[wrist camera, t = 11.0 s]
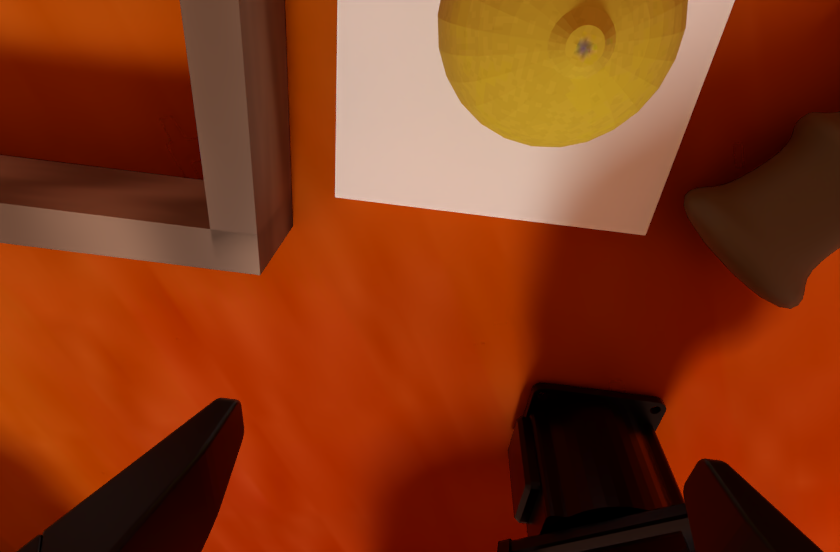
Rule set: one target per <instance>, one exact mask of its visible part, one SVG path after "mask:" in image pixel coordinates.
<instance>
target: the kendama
mask: <svg viewBox="0 0 840 552" xmlns="http://www.w3.org/2000/svg"><path fill="white" fill-rule="evenodd" d="M684 208H685V211H686V214H687V217H688V219H689V220H690V222H691V223H692V225H693V226H694V228H695V229H696V231H697V232H698V234H699V235H700V237H701V238H702V240H703V241H704V242H705V244H706V245H707V246H708V247H709V248H710V249H711V250H712V251H713V253H714V254H715V255H716V256H717V257H718V258H719V259H720V260H721V261H722V262H723V264H724V265H725V266H726V267H727V268H728V269H729V270H730V271H731V272H732V273H733V274H734V275H735V276H736V277H737V278H738V279H739V280H741V281H742V282H743V283H744V284H745V285H746V286H747V287H748V288H750V289H751V290H752V291H754V292H755V293H756V294H757V295H759V296H760V297H761V298H763V299H765V300H767V301H769V302H771V303H773V304H775V305H777V306H778V307H783V308H789V309H791V308H793V307H795V306H797V305H799V303H800V302H801V300H802V299H803V295H804V291H805V285H806V281H807V278H808V277H809V275H810V273H811V272H812V270H813V269H814V268H815V267H816V266H817V265H818V264H819V263H820V262H821V261H823V260H824V259H825V258H826V257H828V256H829V255H830V254H832V253H833V252H834V251H835V250H837V249H838V248H840V112H835V113H819V112H812V113H808V114H807V115H805V116H804V117H802V118H801V119H799V120H798V122H797V123H796V125H795V127H794V130H793V134H792V136H791V138H790V140H789V142H788V143H787V145H786V146H785V147H784V148H783V149H782V150H781V151H780V152H779V153H777V154H776V155H775V156H773V157H772V158H771V159H770V160H768V161H767V162H765V163H764V164H762V165H761V166H759V167H758V168H756V169H755V170H753V171H751V172H749V173H747V174H746V175H744V176H742V177H740V178H738V179H736V180H734V181H732V182H730V183H727V184H724V185H721V186H716V187H701V188H696V189H693V190H690V191H689V192H688V193H687V194H686V195H685V199H684Z"/></svg>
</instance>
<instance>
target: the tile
mask: <svg viewBox="0 0 840 552" xmlns="http://www.w3.org/2000/svg"><path fill="white" fill-rule="evenodd" d="M440 1H441V0H338V5H337V84H336V162H335V197H338V198H346V199H354V200H362V201H370V202H378V203H386V204H394V205H402V206H411V207H419V208H427V209H435V210H443V211H451V212H459V213H467V214H475V215H483V216H492V217H500V218H508V219H516V220H524V221H532V222H540V223H548V224H556V225H564V226H573V227H581V228H589V229H597V230H605V231H613V232H621V233H629V234H637V235H646V233H647V230H648V227H649V225H650V222H651V220H652V217H653V214H654V212H655V209H656V206H657V204H658V201H659V199H660V196H661V193H662V191H663V188H664V185H665V183H666V180H667V178H668V175H669V172H670V170H671V167H672V164H673V162H674V159H675V157H676V154H677V151H678V149H679V146H680V143H681V141H682V138H683V136H684V133H685V130H686V128H687V125H688V122H689V120H690V117H691V115H692V112H693V109H694V107H695V104H696V101H697V99H698V96H699V94H700V91H701V88H702V86H703V83H704V80H705V78H706V75H707V73H708V70H709V67H710V65H711V62H712V59H713V57H714V54H715V52H716V49H717V46H718V44H719V41H720V38H721V36H722V33H723V30H724V28H725V25H726V23H727V20H728V17H729V15H730V12H731V9H732V7H733V4H734V2H735V0H688V8H687V19H686V29H685V32H684V35H683V38H682V41H681V44H680V47H679V50H678V53H677V56H676V59H675V61H674V63H673V65H672V66H671V68H670V70H669V72H668V73H667V75H666V77H665V79H664V80H663V82H662V84H661V86H660V87H659V89H658V90H657V91H656V92H655V93H654V94H653V96H652V97H651V98H650V99H649V100H648V101H647V102H646V103H645V105H644V106H643V107H642V108H641V109H640V110H639V111H638V112H637V113H636V114H635V115H633V116H632V117H630V118H629V119H628V120H626V121H625V122H624V123H622V124H621V125H620V126H618V127H617V128H616V129H614V130H612V131H610V132H608V133H606V134H604V135H601V136H599V137H597V138H595V139H593V140H590V141H588V142H584V143H579V144H574V145H570V146H565V147H537V146H529V145H526V144H522V143H519V142H516V141H512V140H509V139H506V138H503V137H502V136H500V135H499V134H497V133H495V132H494V131H492V130H490V129H489V128H487V127H485V126H484V125H482V124H481V123H480V122H479V121H478V120H477V119H476V118H475V117H474V116H473V115H472V114H471V113H470V112H469V111H468V110H467V109H466V108H465V107H464V106H463V104H462V103H461V102H460V100H459V98H458V97H457V95H456V93H455V91H454V89H453V87H452V86H451V84H450V82H449V80H448V78H447V77H446V73H445V69H444V66H443V62H442V58H441V55H440V51H439V45H438V11H439V6H440Z"/></svg>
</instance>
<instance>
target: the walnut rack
mask: <svg viewBox="0 0 840 552" xmlns="http://www.w3.org/2000/svg"><path fill="white" fill-rule="evenodd" d="M180 5H181V13H182V20H183V28H184V35H185V43H186V50H187V58H188V65H189V73H190V81H191V88H192V96H193V103H194V110H195V118H196V125H197V133H198V141H199V148H200V156H201V163H202V171H203V178H204V180H200V179H191V178H183V177H175V176H167V175H159V174H151V173H143V172H135V171H127V170H119V169H110V168H102V167H94V166H86V165H78V164H70V163H62V162H54V161H46V160H38V159H29V158H21V157H13V156H5V155H0V243H7V244H15V245H23V246H31V247H39V248H47V249H55V250H63V251H71V252H79V253H87V254H96V255H104V256H112V257H120V258H128V259H136V260H144V261H152V262H160V263H168V264H176V265H184V266H192V267H200V268H208V269H216V270H224V271H232V272H240V273H248V274H256V275H261V273H262V272H263V270H264V269H265V267H266V266H267V264H268V263H269V261H270V260H271V258H272V257H273V255H274V254H275V252H276V251H277V249H278V248H279V246H280V245H281V243H282V242H283V240H284V239H285V237H286V236H287V234H288V233H289V231H290V230H291V228H292V227H293V218H292V190H291V163H290V135H289V107H288V80H287V52H286V25H285V0H180Z"/></svg>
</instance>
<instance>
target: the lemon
mask: <svg viewBox="0 0 840 552" xmlns="http://www.w3.org/2000/svg"><path fill="white" fill-rule="evenodd" d="M687 8H688V0H441V1H440V6H439V11H438V45H439V51H440V55H441V58H442V62H443V66H444V69H445V73H446V77H447V78H448V80H449V82H450V84H451V86H452V87H453V89H454V91H455V93H456V95H457V97H458V98H459V100H460V102H461V103H462V104H463V106H464V107H465V108H466V109H467V110H468V111H469V112H470V113H471V114H472V115H473V116H474V117H475V118H476V119H477V120H478V121H479V122H480V123H481V124H482V125H484V126H485V127H487V128H489V129H490V130H492V131H494V132H495V133H497V134H499V135H500V136H502V137H503V138H506V139H509V140H512V141H516V142H519V143H522V144H526V145H529V146H537V147H565V146H570V145H574V144H579V143H584V142H588V141H590V140H593V139H595V138H597V137H599V136H601V135H604V134H606V133H608V132H610V131H612V130H614V129H616V128H617V127H618V126H620V125H621V124H622V123H624V122H625V121H626V120H628V119H629V118H630V117H632V116H633V115H635V114H636V113H637V112H638V111H639V110H640V109H641V108H642V107H643V106H644V105H645V103H646V102H647V101H648V100H649V99H650V98H651V97H652V96H653V94H654V93H655V92H656V91H657V90H658V89H659V87H660V86H661V84H662V82H663V80H664V79H665V77H666V75H667V73H668V72H669V70H670V68H671V66H672V65H673V63H674V61H675V59H676V56H677V53H678V50H679V47H680V44H681V41H682V38H683V35H684V32H685V29H686V19H687Z"/></svg>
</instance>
